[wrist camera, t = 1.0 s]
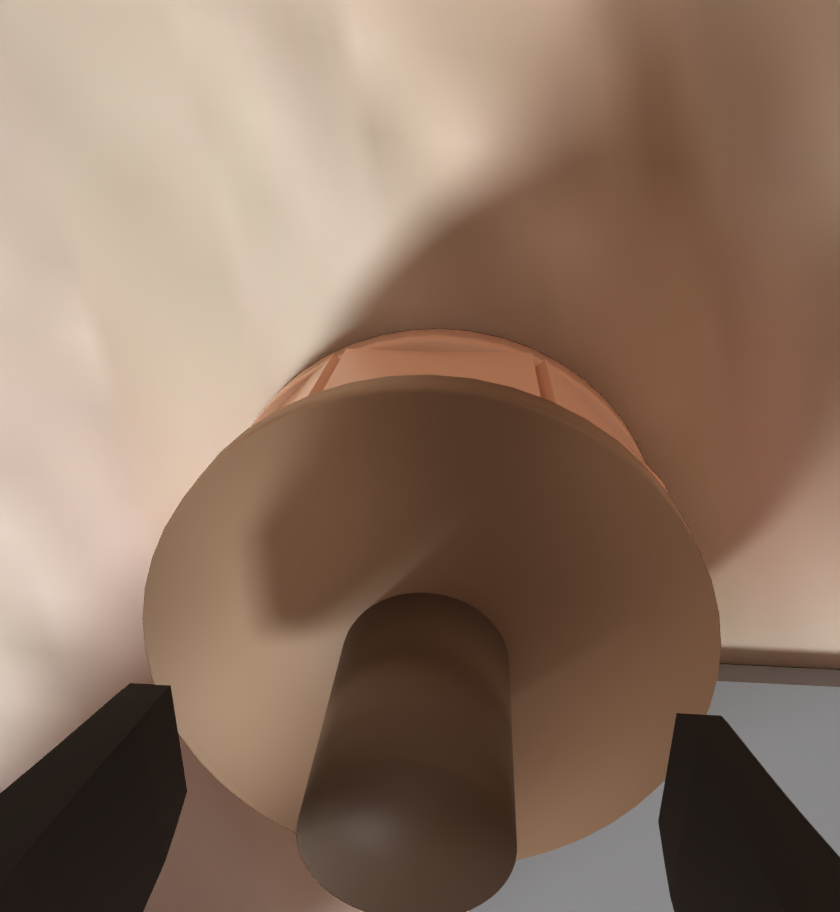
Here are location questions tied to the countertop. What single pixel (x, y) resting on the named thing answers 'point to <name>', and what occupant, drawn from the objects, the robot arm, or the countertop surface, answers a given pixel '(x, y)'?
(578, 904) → the mat
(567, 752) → the lid
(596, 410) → the bowl
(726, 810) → the robot arm
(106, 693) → the countertop surface
